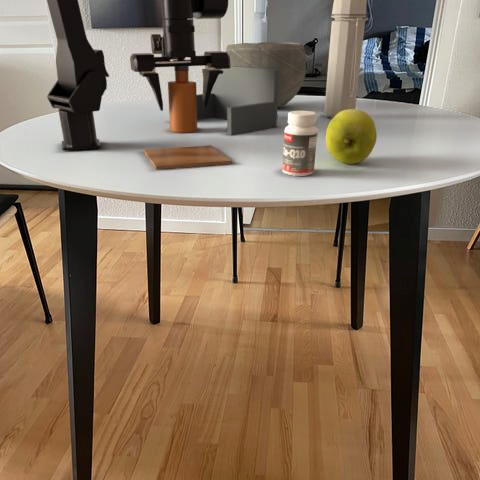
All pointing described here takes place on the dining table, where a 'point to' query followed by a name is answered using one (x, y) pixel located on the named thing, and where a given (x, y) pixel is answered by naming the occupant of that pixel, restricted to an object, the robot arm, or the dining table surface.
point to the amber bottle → (182, 102)
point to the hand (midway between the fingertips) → (183, 109)
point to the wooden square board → (185, 157)
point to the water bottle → (344, 55)
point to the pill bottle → (300, 143)
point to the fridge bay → (243, 99)
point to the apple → (351, 136)
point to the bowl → (274, 63)
